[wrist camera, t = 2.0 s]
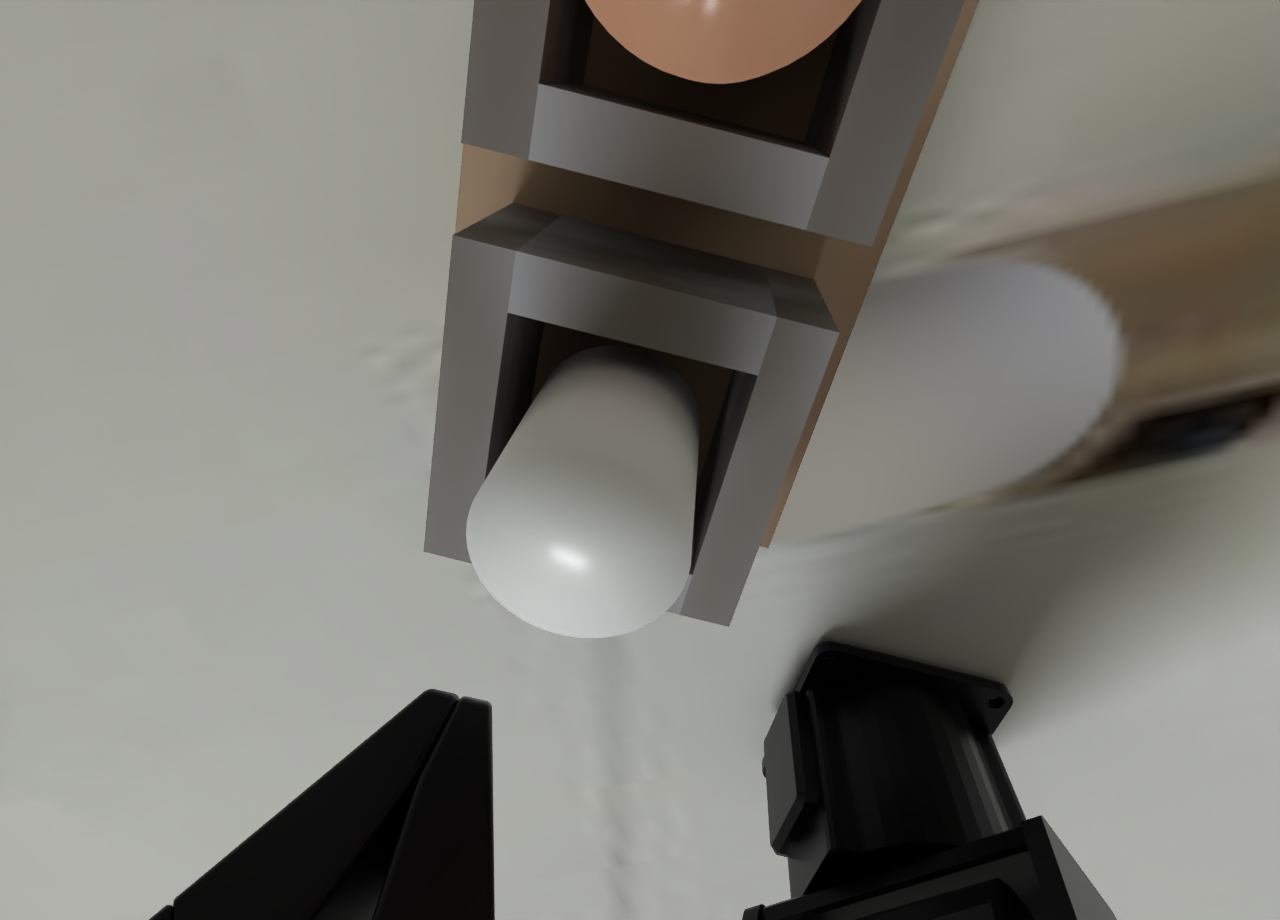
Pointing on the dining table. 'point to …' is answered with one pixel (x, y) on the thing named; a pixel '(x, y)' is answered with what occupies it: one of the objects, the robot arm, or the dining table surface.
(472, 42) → the double box holder
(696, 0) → the terracotta plunger
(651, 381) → the white short rounded cylinder
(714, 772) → the dining table surface
